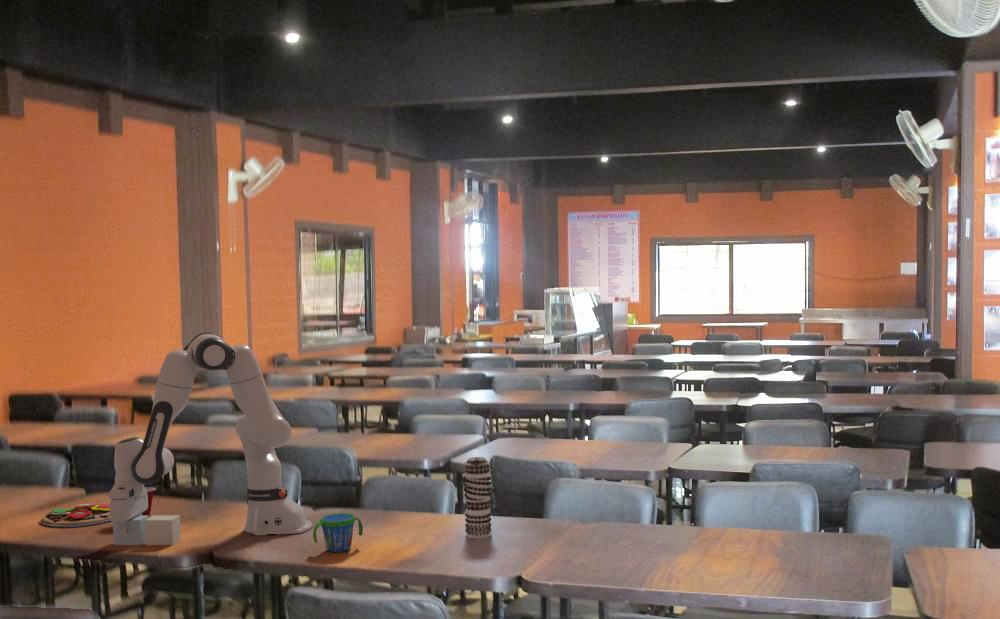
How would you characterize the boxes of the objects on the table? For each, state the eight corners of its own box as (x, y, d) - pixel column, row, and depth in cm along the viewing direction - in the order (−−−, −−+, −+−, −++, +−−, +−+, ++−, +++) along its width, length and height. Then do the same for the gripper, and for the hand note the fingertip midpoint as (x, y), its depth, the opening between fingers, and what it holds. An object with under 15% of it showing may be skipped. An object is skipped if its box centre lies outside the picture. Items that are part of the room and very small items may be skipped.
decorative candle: (474, 540, 311) (472, 462, 310) (459, 534, 318) (457, 457, 318) (498, 535, 316) (496, 458, 315) (482, 529, 323) (481, 454, 323)
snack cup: (317, 557, 295) (316, 523, 295) (309, 548, 305) (308, 516, 304) (367, 550, 301) (367, 517, 301) (358, 542, 311) (357, 510, 310)
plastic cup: (162, 518, 349) (161, 484, 348) (148, 525, 338) (147, 491, 338) (133, 518, 350) (132, 484, 350) (118, 525, 339) (117, 491, 339)
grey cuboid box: (180, 539, 319) (179, 515, 318) (172, 545, 312) (172, 520, 312) (153, 539, 319) (153, 515, 319) (145, 545, 313) (144, 520, 313)
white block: (149, 539, 319) (148, 515, 319) (140, 545, 313) (140, 520, 313) (122, 539, 320) (121, 515, 320) (113, 545, 314) (112, 520, 313)
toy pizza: (78, 532, 333) (78, 519, 333) (22, 525, 345) (22, 512, 345) (140, 514, 358) (140, 502, 358) (86, 508, 370) (86, 496, 370)
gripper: (134, 481, 326) (135, 522, 327) (105, 494, 306) (106, 538, 306) (152, 481, 326) (153, 522, 326) (125, 494, 306) (126, 538, 306)
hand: (130, 530), depth 316 cm, fingers open, 8 cm apart
